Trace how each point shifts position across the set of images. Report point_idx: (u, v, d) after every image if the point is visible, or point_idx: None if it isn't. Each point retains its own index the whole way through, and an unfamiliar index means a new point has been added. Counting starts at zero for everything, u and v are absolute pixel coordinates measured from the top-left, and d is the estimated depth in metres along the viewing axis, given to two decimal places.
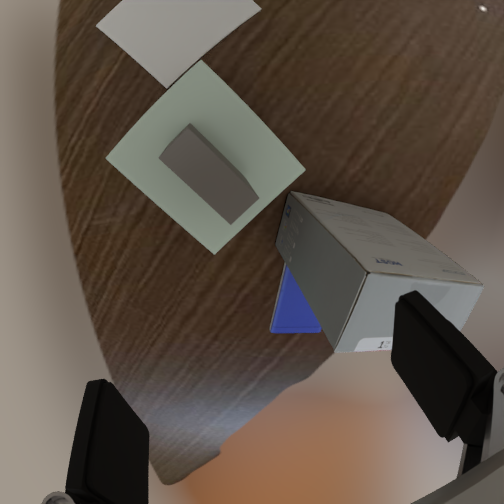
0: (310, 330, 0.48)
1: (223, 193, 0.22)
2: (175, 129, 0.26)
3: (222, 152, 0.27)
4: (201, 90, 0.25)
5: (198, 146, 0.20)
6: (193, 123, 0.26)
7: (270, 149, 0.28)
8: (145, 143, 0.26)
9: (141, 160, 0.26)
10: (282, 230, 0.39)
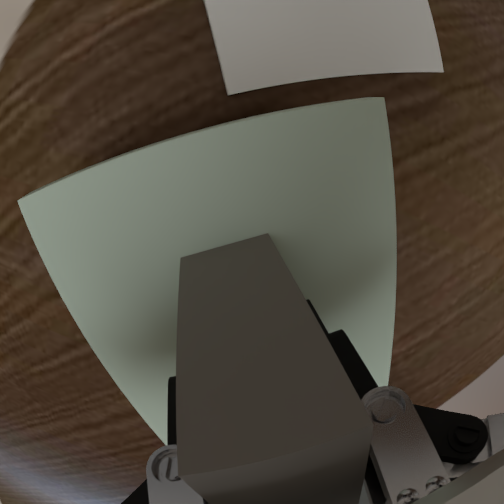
0: None
1: None
2: (223, 230, 0.10)
3: None
4: (342, 170, 0.09)
5: (345, 469, 0.04)
6: (274, 239, 0.10)
7: (370, 349, 0.13)
8: (128, 222, 0.09)
9: (99, 257, 0.09)
10: None
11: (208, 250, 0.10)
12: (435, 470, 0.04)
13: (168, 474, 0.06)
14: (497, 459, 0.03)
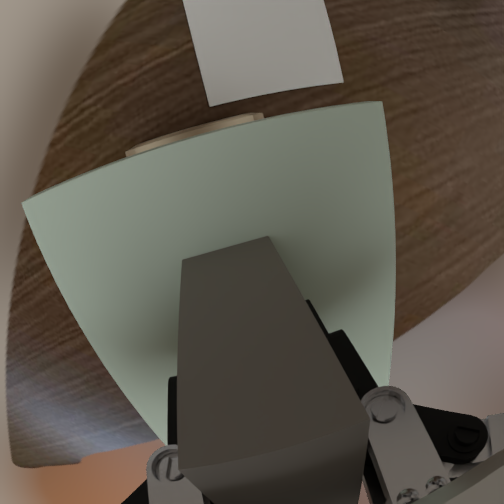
0: None
1: None
2: (224, 232, 0.10)
3: None
4: (340, 173, 0.10)
5: (344, 466, 0.04)
6: (274, 241, 0.10)
7: (370, 351, 0.13)
8: (130, 224, 0.09)
9: (101, 259, 0.09)
10: None
11: (209, 252, 0.10)
12: (435, 470, 0.04)
13: (168, 474, 0.06)
14: (497, 459, 0.03)
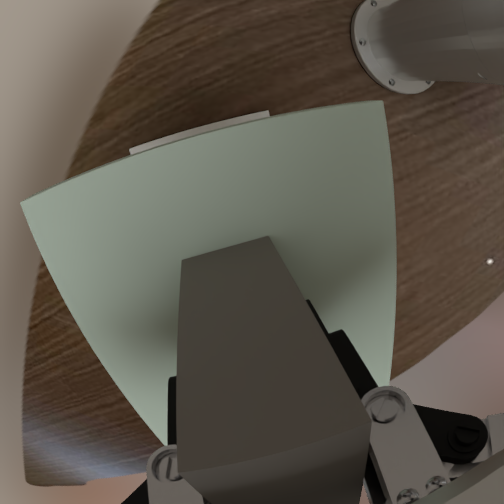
0: None
1: None
2: (224, 232, 0.10)
3: None
4: (341, 173, 0.10)
5: (345, 468, 0.04)
6: (275, 241, 0.10)
7: (371, 351, 0.13)
8: (129, 224, 0.09)
9: (100, 259, 0.09)
10: None
11: (209, 252, 0.10)
12: (435, 470, 0.04)
13: (168, 474, 0.06)
14: (497, 459, 0.03)
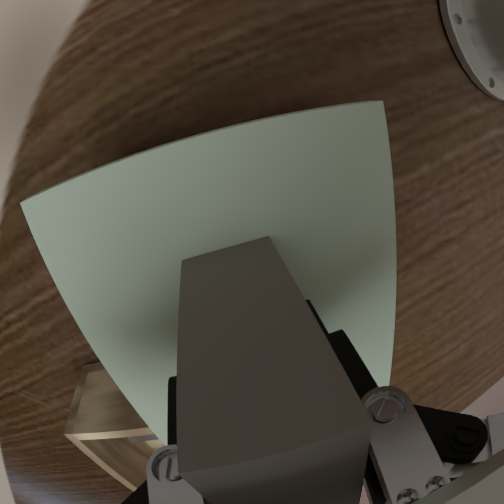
0: None
1: None
2: (224, 232, 0.10)
3: None
4: (341, 173, 0.10)
5: (344, 469, 0.04)
6: (275, 241, 0.10)
7: (371, 352, 0.13)
8: (129, 224, 0.09)
9: (100, 259, 0.09)
10: None
11: (209, 253, 0.10)
12: (435, 470, 0.04)
13: (168, 474, 0.06)
14: (497, 459, 0.03)
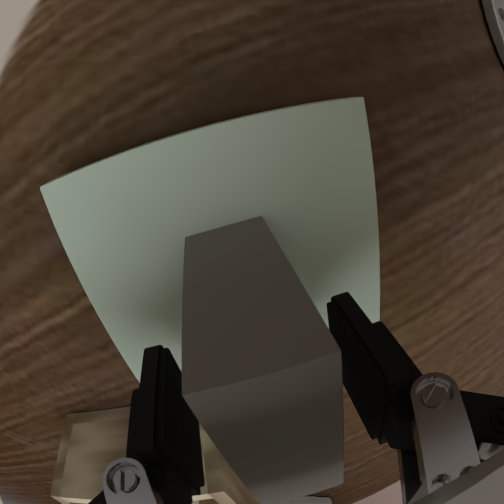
0: None
1: (291, 479, 0.07)
2: (222, 212, 0.11)
3: None
4: (326, 161, 0.11)
5: (324, 404, 0.06)
6: (267, 221, 0.12)
7: None
8: (139, 205, 0.10)
9: (112, 237, 0.11)
10: None
11: (209, 230, 0.11)
12: (471, 460, 0.04)
13: (123, 486, 0.05)
14: (497, 459, 0.03)
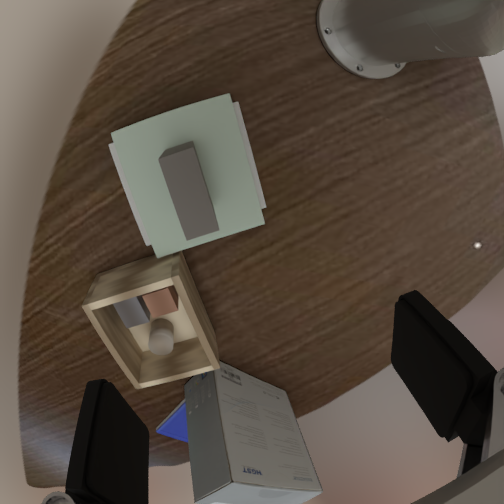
0: None
1: (193, 213, 0.25)
2: (178, 139, 0.29)
3: (205, 177, 0.31)
4: (216, 118, 0.29)
5: (193, 166, 0.23)
6: (195, 142, 0.29)
7: (245, 193, 0.32)
8: (149, 138, 0.28)
9: (138, 150, 0.28)
10: (193, 382, 0.43)
11: (174, 146, 0.29)
12: None
13: None
14: (497, 459, 0.03)
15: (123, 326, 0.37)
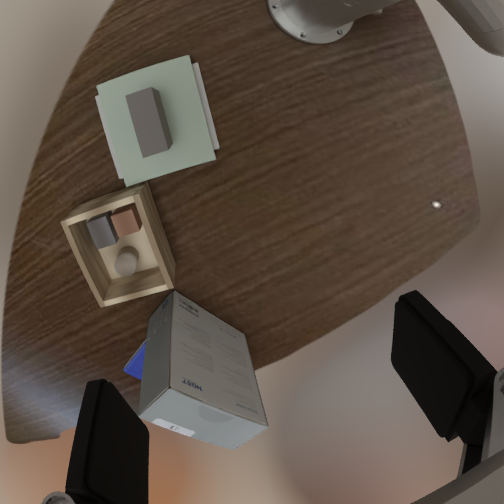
0: None
1: (148, 136, 0.30)
2: None
3: (167, 120, 0.36)
4: (177, 74, 0.34)
5: (150, 100, 0.28)
6: (160, 92, 0.34)
7: (199, 133, 0.37)
8: (125, 89, 0.33)
9: (116, 99, 0.33)
10: (156, 314, 0.48)
11: None
12: None
13: None
14: (497, 459, 0.03)
15: (95, 251, 0.42)
